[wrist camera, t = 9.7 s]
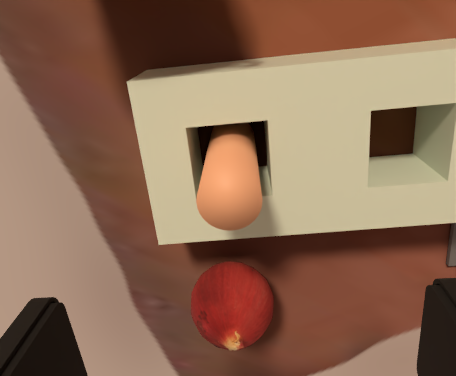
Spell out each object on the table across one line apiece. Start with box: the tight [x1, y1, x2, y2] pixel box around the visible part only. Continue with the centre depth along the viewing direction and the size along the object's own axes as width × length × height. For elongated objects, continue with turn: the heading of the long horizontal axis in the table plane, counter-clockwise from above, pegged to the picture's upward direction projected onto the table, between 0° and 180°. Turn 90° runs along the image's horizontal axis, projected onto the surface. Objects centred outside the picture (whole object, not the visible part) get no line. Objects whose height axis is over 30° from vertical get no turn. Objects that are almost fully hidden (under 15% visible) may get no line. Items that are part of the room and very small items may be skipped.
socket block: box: [127, 38, 456, 245], centre depth 25 cm, size 20×10×5 cm, turn 96°
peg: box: [196, 122, 262, 231], centre depth 23 cm, size 3×3×10 cm
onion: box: [191, 261, 274, 351], centre depth 28 cm, size 6×6×8 cm
